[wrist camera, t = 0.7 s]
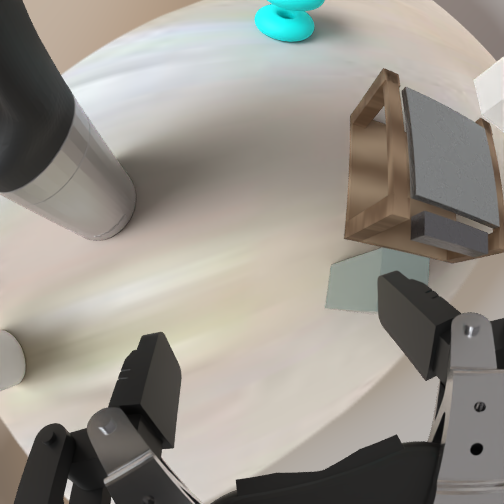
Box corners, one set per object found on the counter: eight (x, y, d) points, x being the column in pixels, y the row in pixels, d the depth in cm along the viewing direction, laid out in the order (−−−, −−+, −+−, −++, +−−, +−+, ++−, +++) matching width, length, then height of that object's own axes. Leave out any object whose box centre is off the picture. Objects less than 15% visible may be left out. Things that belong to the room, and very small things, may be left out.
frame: (452, 263, 35) (507, 251, 25) (344, 238, 34) (391, 213, 23) (447, 153, 38) (489, 123, 28) (350, 116, 37) (383, 68, 26)
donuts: (246, -20, 29) (287, -33, 31) (241, 25, 39) (278, 7, 40) (302, 6, 29) (339, -9, 30) (288, 52, 38) (322, 32, 40)
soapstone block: (325, 308, 33) (375, 311, 21) (330, 264, 34) (382, 247, 22) (363, 313, 33) (424, 317, 21) (368, 271, 34) (429, 258, 22)
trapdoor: (481, 259, 27) (500, 255, 24) (397, 236, 26) (416, 229, 23) (470, 138, 30) (484, 128, 27) (393, 101, 29) (405, 86, 26)
